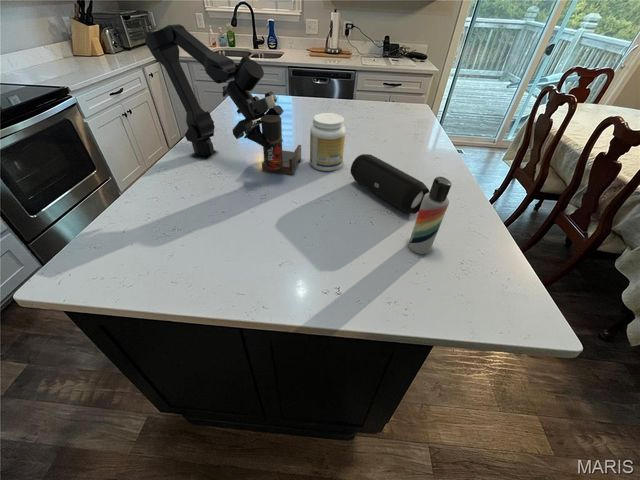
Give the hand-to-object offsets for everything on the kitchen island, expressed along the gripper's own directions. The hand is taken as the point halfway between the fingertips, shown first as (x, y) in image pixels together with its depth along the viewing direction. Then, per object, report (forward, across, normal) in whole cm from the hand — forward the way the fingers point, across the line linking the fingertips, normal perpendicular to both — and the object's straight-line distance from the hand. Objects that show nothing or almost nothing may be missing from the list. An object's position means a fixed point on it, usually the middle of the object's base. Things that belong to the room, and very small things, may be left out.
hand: (275, 145), depth 91 cm
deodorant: (+4, 0, +6) cm, 7 cm away
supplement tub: (+14, +19, +3) cm, 24 cm away
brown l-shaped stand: (+5, +10, +12) cm, 16 cm away
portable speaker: (+33, +11, -16) cm, 38 cm away
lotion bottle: (+44, -7, -28) cm, 53 cm away
